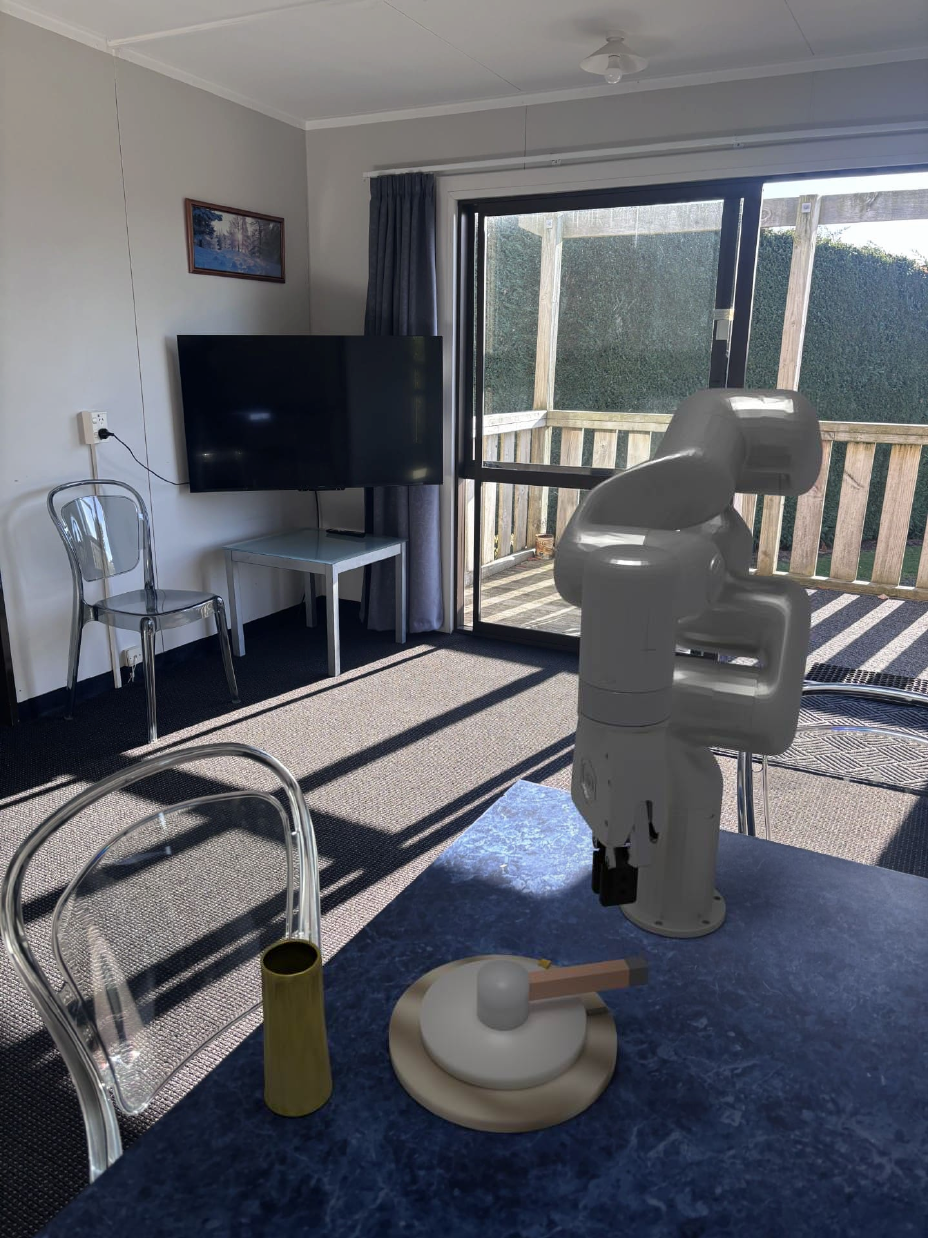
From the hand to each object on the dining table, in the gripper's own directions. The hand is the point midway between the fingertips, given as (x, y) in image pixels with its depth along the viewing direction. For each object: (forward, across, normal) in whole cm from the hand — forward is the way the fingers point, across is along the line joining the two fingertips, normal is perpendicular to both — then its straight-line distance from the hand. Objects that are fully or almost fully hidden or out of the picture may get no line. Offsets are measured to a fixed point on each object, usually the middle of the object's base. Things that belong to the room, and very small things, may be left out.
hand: (613, 896), depth 78 cm
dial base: (+19, -6, -8) cm, 22 cm away
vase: (+19, -4, -28) cm, 34 cm away
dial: (+17, -6, -5) cm, 19 cm away
